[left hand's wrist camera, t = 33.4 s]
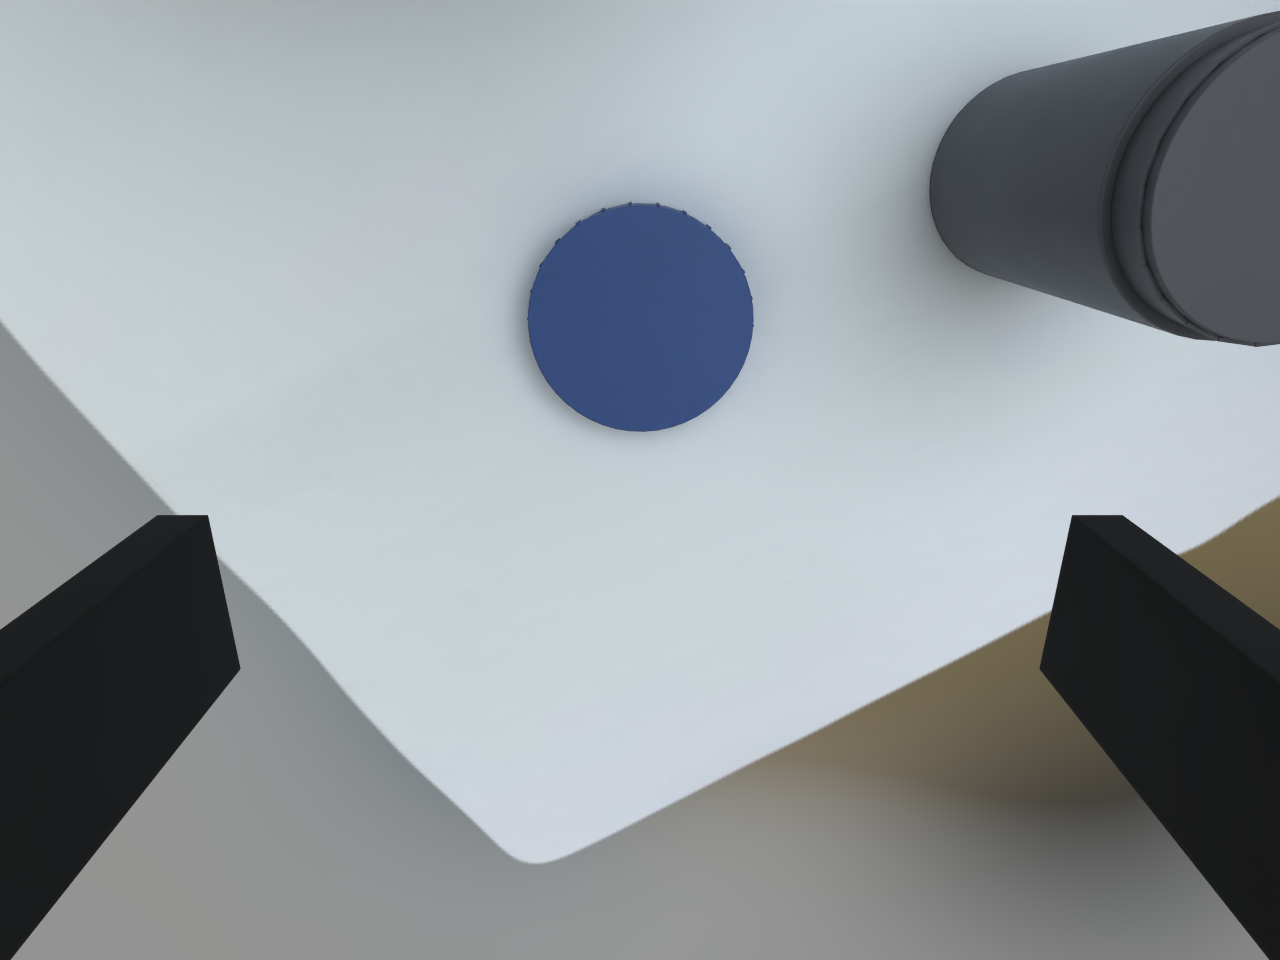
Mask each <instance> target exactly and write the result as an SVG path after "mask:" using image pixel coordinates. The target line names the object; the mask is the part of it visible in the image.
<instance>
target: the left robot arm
mask: <svg viewBox="0 0 1280 960" xmlns="http://www.w3.org/2000/svg"><path fill="white" fill-rule="evenodd" d="M239 670H240V664H239V659H238V655H237V650H236V645H235V641H234V636H233V631H232V626H231V622H230V617H229V612H228V608H227V603H226V598H225V593H224V589H223V584H222V579H221V575H220V570H219V565H218V561H217V556H216V551H215V546H214V542H213V537H212V532H211V528H210V523H209V518H208V515H157V516H156V517H154V518H153V519H152V520H150V521H149V522H148V523H146V524H145V525H144V526H142V527H141V528H139V529H138V530H137V531H135V532H134V533H132V534H131V535H130V536H128V537H127V538H126V539H124V540H123V541H121V542H120V543H119V544H117V545H116V546H115V547H113V548H112V549H110V550H109V551H108V552H106V553H105V554H104V555H102V556H101V557H100V558H98V559H97V560H95V561H94V562H93V563H91V564H90V565H89V566H87V567H86V568H84V569H83V570H82V571H80V572H79V573H78V574H76V575H75V576H73V577H72V578H71V579H69V580H68V581H67V582H65V583H64V584H62V585H61V586H60V587H58V588H57V589H56V590H54V591H53V592H51V593H50V594H49V595H47V596H46V597H45V598H43V599H42V600H40V601H39V602H38V603H36V604H35V605H34V606H32V607H31V608H30V609H28V610H27V611H25V612H24V613H23V614H21V615H20V616H19V617H17V618H16V619H14V620H13V621H12V622H10V623H9V624H8V625H6V626H5V627H3V628H2V629H1V630H0V960H11V959H12V957H13V956H14V955H15V954H16V952H17V951H18V950H19V948H20V947H21V946H22V945H23V943H24V942H25V941H26V940H27V938H28V937H29V936H30V934H31V933H32V932H33V931H34V929H35V928H36V927H37V926H38V924H39V923H40V922H41V921H42V919H43V918H44V917H45V916H46V914H47V913H48V912H49V911H50V909H51V908H52V907H53V905H54V904H55V903H56V902H57V900H58V899H59V898H60V897H61V895H62V894H63V893H64V892H65V890H66V889H67V888H68V886H69V885H70V884H71V883H72V881H73V880H74V879H75V878H76V876H77V875H78V874H79V873H80V871H81V870H82V869H83V867H84V866H85V865H86V864H87V862H88V861H89V860H90V859H91V857H92V856H93V855H94V854H95V852H96V851H97V850H98V848H99V847H100V846H101V845H102V843H103V842H104V841H105V840H106V838H107V837H108V836H109V835H110V833H111V832H112V831H113V830H114V828H115V827H116V826H117V824H118V823H119V822H120V821H121V819H122V818H123V817H124V816H125V814H126V813H127V812H128V811H129V809H130V808H131V807H132V805H133V804H134V803H135V802H136V800H137V799H138V798H139V797H140V795H141V794H142V793H143V792H144V790H145V789H146V788H147V787H148V785H149V784H150V783H151V781H152V780H153V779H154V778H155V776H156V775H157V774H158V773H159V771H160V770H161V769H162V768H163V766H164V765H165V764H166V762H167V761H168V760H169V759H170V757H171V756H172V755H173V754H174V752H175V751H176V750H177V749H178V747H179V746H180V745H181V743H182V742H183V741H184V740H185V739H186V737H187V736H188V735H189V733H190V732H191V731H192V730H193V728H194V727H195V726H196V725H197V723H198V722H199V721H200V720H201V718H202V717H203V716H204V714H205V713H206V712H207V711H208V709H209V708H210V707H211V706H212V704H213V703H214V702H215V701H216V699H217V698H218V697H219V696H220V694H221V693H222V692H223V690H224V689H225V688H226V687H227V685H228V684H229V683H230V682H231V680H232V679H233V678H234V677H235V675H236V674H237V673H238V671H239ZM1040 670H1041V671H1042V673H1043V674H1044V675H1045V677H1046V678H1047V679H1048V680H1049V682H1050V683H1051V684H1052V685H1053V687H1054V688H1055V689H1056V690H1057V692H1058V693H1059V694H1060V695H1061V697H1062V698H1063V699H1064V701H1065V702H1066V703H1067V704H1068V706H1069V707H1070V708H1071V709H1072V711H1073V712H1074V713H1075V714H1076V716H1077V717H1078V718H1079V720H1080V721H1081V722H1082V723H1083V725H1084V726H1085V727H1086V728H1087V730H1088V731H1089V732H1090V733H1091V735H1092V736H1093V737H1094V739H1095V740H1096V741H1097V742H1098V744H1099V745H1100V746H1101V747H1102V749H1103V750H1104V751H1105V752H1106V754H1107V755H1108V756H1109V757H1110V759H1111V760H1112V761H1113V762H1114V764H1115V765H1116V766H1117V768H1118V769H1119V770H1120V771H1121V773H1122V774H1123V775H1124V776H1125V778H1126V779H1127V780H1128V781H1129V783H1130V784H1131V785H1132V787H1133V788H1134V789H1135V790H1136V792H1137V793H1138V794H1139V795H1140V797H1141V798H1142V799H1143V800H1144V802H1145V803H1146V804H1147V806H1148V807H1149V808H1150V809H1151V811H1152V812H1153V813H1154V814H1155V816H1156V817H1157V818H1158V819H1159V821H1160V822H1161V823H1162V825H1163V826H1164V827H1165V828H1166V830H1167V831H1168V832H1169V833H1170V835H1171V836H1172V837H1173V838H1174V840H1175V841H1176V842H1177V843H1178V845H1179V846H1180V847H1181V849H1182V850H1183V851H1184V852H1185V854H1186V855H1187V856H1188V857H1189V858H1190V860H1191V861H1192V862H1193V864H1194V865H1195V866H1196V868H1197V869H1198V870H1199V871H1200V873H1201V874H1202V875H1203V876H1204V878H1205V879H1206V880H1207V881H1208V883H1209V884H1210V885H1211V886H1212V888H1213V889H1214V890H1215V892H1216V893H1217V894H1218V895H1219V897H1220V898H1221V899H1222V900H1223V902H1224V903H1225V904H1226V905H1227V907H1228V908H1229V909H1230V911H1231V912H1232V913H1233V914H1234V916H1235V917H1236V918H1237V919H1238V921H1239V922H1240V923H1241V924H1242V926H1243V927H1244V928H1245V929H1246V931H1247V932H1248V933H1249V935H1250V936H1251V937H1252V938H1253V940H1254V941H1255V942H1256V943H1257V945H1258V946H1259V947H1260V948H1261V950H1262V951H1263V952H1264V953H1265V955H1266V956H1267V957H1268V959H1269V960H1280V630H1279V629H1278V628H1277V627H1275V626H1274V625H1272V624H1271V623H1270V622H1268V621H1267V620H1266V619H1264V618H1263V617H1261V616H1260V615H1259V614H1257V613H1256V612H1255V611H1253V610H1252V609H1250V608H1249V607H1248V606H1246V605H1245V604H1244V603H1242V602H1241V601H1240V600H1238V599H1237V598H1235V597H1234V596H1233V595H1231V594H1230V593H1229V592H1227V591H1226V590H1224V589H1223V588H1222V587H1220V586H1219V585H1218V584H1216V583H1215V582H1213V581H1212V580H1211V579H1209V578H1208V577H1207V576H1205V575H1204V574H1202V573H1201V572H1200V571H1198V570H1197V569H1196V568H1194V567H1193V566H1191V565H1190V564H1189V563H1187V562H1186V561H1185V560H1183V559H1182V558H1180V557H1179V556H1178V555H1176V554H1175V553H1174V552H1172V551H1171V550H1170V549H1168V548H1167V547H1165V546H1164V545H1163V544H1161V543H1160V542H1159V541H1157V540H1156V539H1154V538H1153V537H1152V536H1150V535H1149V534H1148V533H1146V532H1145V531H1143V530H1142V529H1141V528H1139V527H1138V526H1137V525H1135V524H1134V523H1132V522H1131V521H1130V520H1128V519H1127V518H1126V517H1124V516H1123V515H1072V518H1071V523H1070V528H1069V532H1068V537H1067V542H1066V546H1065V551H1064V556H1063V560H1062V565H1061V570H1060V575H1059V579H1058V584H1057V589H1056V593H1055V598H1054V603H1053V608H1052V612H1051V617H1050V622H1049V626H1048V631H1047V636H1046V641H1045V645H1044V650H1043V655H1042V660H1041V664H1040Z"/></svg>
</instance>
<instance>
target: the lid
mask: <svg viewBox="0 0 1280 960" xmlns="http://www.w3.org/2000/svg"><path fill="white" fill-rule="evenodd" d="M555 244H556V245H555V246H554V247H553V249H552V250H551V251H550V253H549V254H548V255H547V257H546V258H545V260H544V261H543V262H542V263H541V264H540V266H539V267H540V269H539V271H538V274H537V276H536V279H535V281H534V284H533V288H532V289H531V291H530V293H531V296H530V302H529V310H528V328H529V335H530V342H531V347H532V349H533V353H534V356H535V359H536V361H537V363H538V366H539V368H540V370H541V372H542V374H543V375H544V377H545V379H546V380H547V382H548V383H549V385H550V386H551V387H552V389H553V390H554V391H555V392H556V394H557V395H558V396H559V397H560V398H561V399H562V400H563V401H564V402H565V403H566V404H568V405H569V406H570V407H572V408H573V409H574V410H575V411H577V412H578V413H580V414H581V415H583V416H585V417H587V418H588V419H590V420H592V421H595V422H597V423H599V424H602V425H605V426H608V427H611V428H615V429H620V430H626V431H643V432H644V431H655V430H661V429H666V428H670V427H674V426H676V425H679V424H682V423H685V422H687V421H689V420H691V419H693V418H695V417H697V416H698V415H700V414H701V413H703V412H704V411H706V410H707V409H709V408H710V407H711V406H712V405H714V404H715V403H716V402H717V401H718V400H719V399H720V398H721V397H722V396H723V395H724V394H725V393H726V392H727V390H728V389H729V388H730V387H731V385H732V384H733V382H734V381H735V379H736V378H737V376H738V374H739V372H740V371H741V369H742V367H743V365H744V362H745V360H746V357H747V354H748V351H749V347H750V343H751V338H752V331H753V326H754V325H753V305H752V300H753V299H752V296H751V294H750V290H749V286H748V283H747V280H746V277H745V275H744V273H745V271H744V270H743V269H742V268H741V266H740V264H739V263H738V261H737V259H736V258H735V256H734V255H733V253H732V252H731V250H730V249H731V247H730V246H729V245H728V244H725V243H724V242H723V241H722V240H721V239H720V238H719V237H718V236H717V235H716V234H715V233H714V232H712V231H711V227H710V226H709V225H704V224H703V223H701V222H700V221H698V220H697V219H695V218H694V217H692V216H690V215H687V212H686V211H684V210H683V212H681V211H679V210H676V209H672V208H669V207H666V206H661V205H660V204H659V203H657V204H656V205H655V204H639V203H637V204H632V202H629V204H627V205H620V206H616V207H612V208H608V209H606V210H605V208H603V209H602V210H601V212H598V213H596V214H594V215H592V216H590V217H588V218H586V219H585V220H583V221H580V220H579V221H578V222H577V223H576V226H575V227H574V228H572V229H571V230H570V231H569V232H568V233H567V234H566V235H565V236H564V237H563V238H562V239H560V238H559V239H558V240H557V241H556V242H555Z"/></svg>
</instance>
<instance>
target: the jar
mask: <svg viewBox="0 0 1280 960" xmlns="http://www.w3.org/2000/svg"><path fill="white" fill-rule="evenodd" d="M930 203H931V209H932V214H933V218H934V221H935V224H936V227H937V230H938V232H939V234H940V236H941V238H942V240H943V241H944V242H945V244H946V245H947V247H948V248H949V249H950V251H951V252H952V253H953V254H954V255H955V256H956V257H957V258H958V259H960V260H961V261H962V262H963V263H965V264H966V265H968V266H969V267H971V268H973V269H975V270H977V271H979V272H982V273H984V274H987V275H990V276H993V277H996V278H1000V279H1003V280H1006V281H1009V282H1012V283H1015V284H1018V285H1021V286H1025V287H1028V288H1031V289H1034V290H1037V291H1040V292H1043V293H1047V294H1050V295H1053V296H1056V297H1059V298H1062V299H1065V300H1068V301H1072V302H1075V303H1078V304H1081V305H1084V306H1087V307H1090V308H1093V309H1097V310H1100V311H1103V312H1106V313H1109V314H1112V315H1115V316H1119V317H1122V318H1125V319H1128V320H1131V321H1134V322H1137V323H1140V324H1144V325H1147V326H1150V327H1153V328H1156V329H1159V330H1162V331H1166V332H1169V333H1172V334H1175V335H1178V336H1183V337H1187V338H1192V339H1198V340H1211V341H1220V342H1227V343H1234V344H1241V345H1248V346H1255V347H1259V346H1267V345H1276V344H1280V11H1276V12H1271V13H1267V14H1262V15H1257V16H1253V17H1249V18H1245V19H1240V20H1236V21H1232V22H1228V23H1224V24H1220V25H1215V26H1211V27H1207V28H1203V29H1199V30H1195V31H1191V32H1186V33H1182V34H1178V35H1174V36H1170V37H1166V38H1161V39H1157V40H1153V41H1149V42H1145V43H1141V44H1136V45H1132V46H1128V47H1124V48H1120V49H1116V50H1111V51H1107V52H1103V53H1099V54H1095V55H1091V56H1086V57H1082V58H1078V59H1074V60H1070V61H1066V62H1061V63H1057V64H1053V65H1049V66H1045V67H1041V68H1036V69H1032V70H1028V71H1024V72H1020V73H1017V74H1014V75H1011V76H1008V77H1006V78H1004V79H1002V80H1000V81H998V82H996V83H994V84H992V85H991V86H989V87H988V88H986V89H985V90H983V91H982V92H981V93H979V94H978V95H977V96H976V97H975V98H973V99H972V100H971V101H970V102H969V103H968V104H967V105H966V106H965V107H964V108H963V109H962V110H961V112H960V113H959V114H958V115H957V117H956V118H955V119H954V121H953V122H952V123H951V125H950V127H949V128H948V130H947V132H946V133H945V135H944V137H943V139H942V141H941V144H940V146H939V148H938V150H937V154H936V157H935V160H934V163H933V168H932V173H931V181H930Z"/></svg>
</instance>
